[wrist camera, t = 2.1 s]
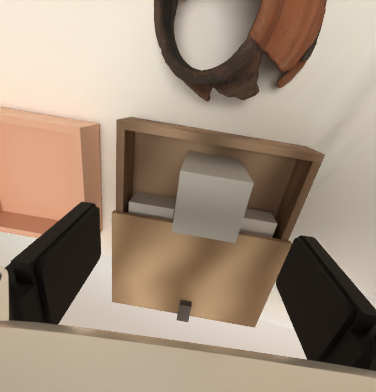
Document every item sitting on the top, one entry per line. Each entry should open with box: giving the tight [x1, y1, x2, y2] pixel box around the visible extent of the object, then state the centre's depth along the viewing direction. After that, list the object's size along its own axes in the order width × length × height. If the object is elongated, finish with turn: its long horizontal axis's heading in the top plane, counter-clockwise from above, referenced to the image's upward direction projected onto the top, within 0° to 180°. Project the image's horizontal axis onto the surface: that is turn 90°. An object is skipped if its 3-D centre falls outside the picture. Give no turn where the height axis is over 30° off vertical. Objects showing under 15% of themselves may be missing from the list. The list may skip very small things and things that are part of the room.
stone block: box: [172, 150, 254, 243], centre depth 16 cm, size 4×4×6 cm
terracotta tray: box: [0, 107, 102, 238], centre depth 19 cm, size 11×11×3 cm
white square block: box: [239, 208, 277, 238], centre depth 20 cm, size 4×4×2 cm
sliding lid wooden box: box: [112, 117, 325, 327], centre depth 20 cm, size 16×19×4 cm
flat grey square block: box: [128, 192, 176, 221], centre depth 20 cm, size 4×4×2 cm
